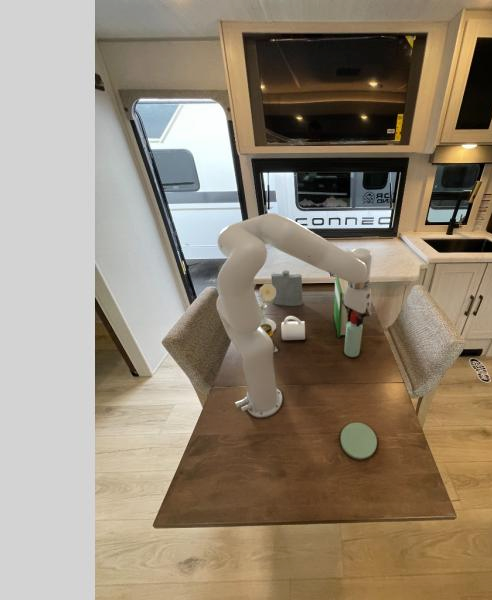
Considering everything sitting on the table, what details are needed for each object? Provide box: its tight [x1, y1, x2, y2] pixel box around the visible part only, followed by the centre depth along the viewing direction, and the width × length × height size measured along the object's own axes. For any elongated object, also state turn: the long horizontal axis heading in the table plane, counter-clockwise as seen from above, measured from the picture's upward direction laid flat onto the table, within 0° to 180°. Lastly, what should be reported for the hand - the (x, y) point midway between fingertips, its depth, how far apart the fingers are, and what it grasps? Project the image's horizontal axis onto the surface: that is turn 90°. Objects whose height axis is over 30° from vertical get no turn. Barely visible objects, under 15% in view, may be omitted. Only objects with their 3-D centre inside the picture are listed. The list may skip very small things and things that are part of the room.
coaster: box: [340, 422, 378, 460], centre depth 81 cm, size 11×11×1 cm
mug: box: [280, 315, 306, 341], centre depth 119 cm, size 8×10×12 cm
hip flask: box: [270, 269, 304, 307], centre depth 141 cm, size 16×4×20 cm, turn 86°
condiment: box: [260, 324, 279, 354], centre depth 112 cm, size 7×8×12 cm
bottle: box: [343, 322, 364, 358], centre depth 109 cm, size 7×7×19 cm
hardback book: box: [333, 275, 355, 338], centre depth 124 cm, size 18×7×24 cm, turn 4°
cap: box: [350, 311, 358, 324], centre depth 105 cm, size 4×4×4 cm
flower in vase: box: [257, 282, 277, 333], centre depth 120 cm, size 13×11×25 cm
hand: (354, 322), depth 106 cm, fingers closed on cap, 3 cm apart
